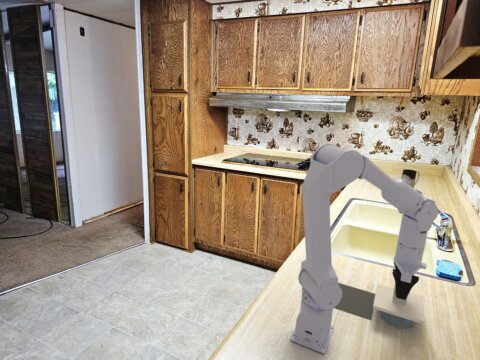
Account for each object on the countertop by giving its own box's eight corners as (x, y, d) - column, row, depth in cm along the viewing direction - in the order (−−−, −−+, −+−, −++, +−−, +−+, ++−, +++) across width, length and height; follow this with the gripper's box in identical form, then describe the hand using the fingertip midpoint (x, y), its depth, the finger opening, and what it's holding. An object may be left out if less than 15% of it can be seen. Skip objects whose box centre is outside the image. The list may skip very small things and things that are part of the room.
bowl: (412, 333, 76) (415, 317, 75) (379, 322, 79) (381, 306, 78) (412, 316, 82) (415, 300, 81) (381, 306, 85) (384, 291, 84)
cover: (424, 324, 72) (428, 306, 71) (372, 308, 77) (375, 291, 76) (422, 299, 82) (426, 282, 81) (376, 286, 87) (379, 270, 86)
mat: (371, 321, 79) (371, 320, 79) (319, 304, 85) (319, 303, 85) (376, 295, 90) (376, 294, 90) (330, 281, 96) (330, 280, 96)
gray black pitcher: (394, 192, 199) (398, 169, 196) (409, 190, 206) (413, 168, 202) (407, 196, 192) (411, 172, 188) (422, 194, 198) (426, 171, 194)
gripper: (431, 261, 67) (419, 316, 71) (428, 237, 80) (418, 284, 83) (395, 252, 71) (385, 305, 74) (398, 230, 83) (389, 277, 86)
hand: (401, 294), depth 79 cm, fingers open, 3 cm apart
